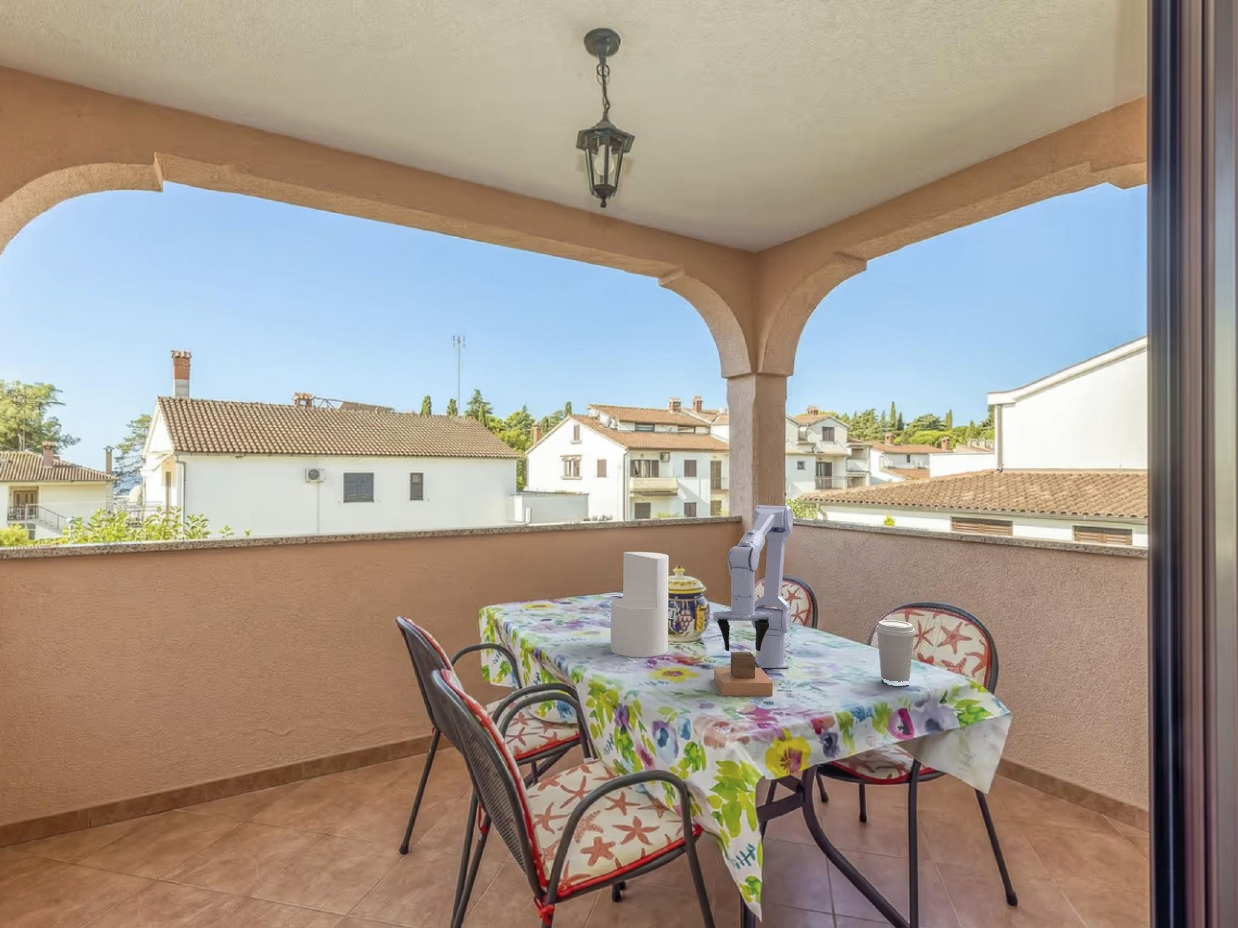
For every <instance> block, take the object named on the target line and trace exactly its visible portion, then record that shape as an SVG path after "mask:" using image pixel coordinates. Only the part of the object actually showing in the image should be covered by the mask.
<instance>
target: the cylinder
mask: <svg viewBox="0 0 1238 928" xmlns="http://www.w3.org/2000/svg"><path fill="white" fill-rule="evenodd" d="M669 557H670V556H669V555H668V554H665V553H660V552H650V551H648V552H647V551H625V552H623V564H622V565H623V568H622V569H623V577H622V578H623V579H622V581H623V583H622V584H623V586H622V590H623V591H622V594H623V595H622V597H621V598H615V599H613V600H611V601H610V647H609V649H610V651H611V652H613V653H614V654H616V653H617V654H616V655H620V656H623V657H630V658H631V657H632V658H650V657H651V658H652V657H658V656H660V655H661V656H662V655H664V654H666V653H668V651H669V565H670V564H669V561H670V560H669V559H670V558H669Z"/></svg>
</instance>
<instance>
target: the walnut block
mask: <svg viewBox="0 0 1238 928" xmlns="http://www.w3.org/2000/svg"><path fill="white" fill-rule="evenodd" d="M730 668H731V673H732V675H733V677H734V678H755V668H756V662H755V657H754V655H753V653H752V652H750V651H731V652H730Z"/></svg>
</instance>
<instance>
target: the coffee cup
mask: <svg viewBox="0 0 1238 928" xmlns="http://www.w3.org/2000/svg"><path fill="white" fill-rule="evenodd" d="M874 631H875V632H877V642H878V643H877V645H878V654H879V655H878V657H879V668H880V678H881V677H882V678H883V679H886V680H889V681H898V682H901V681H902V682H903V681H909V679H911V668H912V659H913V658H912V657H913V649H914V648H913V647H914V638H915V636H916V635H917V633H916V629H915V628H914V626H913V624H912V623H910V622H907V621H902V620H895V619H894V620H893V619H884V620H880V621H878V622H877V625H876V627H875V629H874ZM909 682H910V681H909Z"/></svg>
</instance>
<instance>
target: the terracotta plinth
mask: <svg viewBox="0 0 1238 928" xmlns="http://www.w3.org/2000/svg"><path fill="white" fill-rule="evenodd" d="M713 668H714V669H713V671H714V672H713V676H714V677H713V679H714V682H715V684H716V685H717V688H718V690H719V692H720V694H721V696H732V697H733V696H748V697H749V696H752V697H753V696H755V697H759V696H761V697H763V696H765V697H767V696H770V697H772V696H773V691H774V689H773V687H774V686H773V682H772V680H771V679H770V677H768V675H767V674H766V673H765V671H764V670H763V668H760V667H755V678H734V677H733V675H732V673H731V667H717V666H716V667H713Z"/></svg>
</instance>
